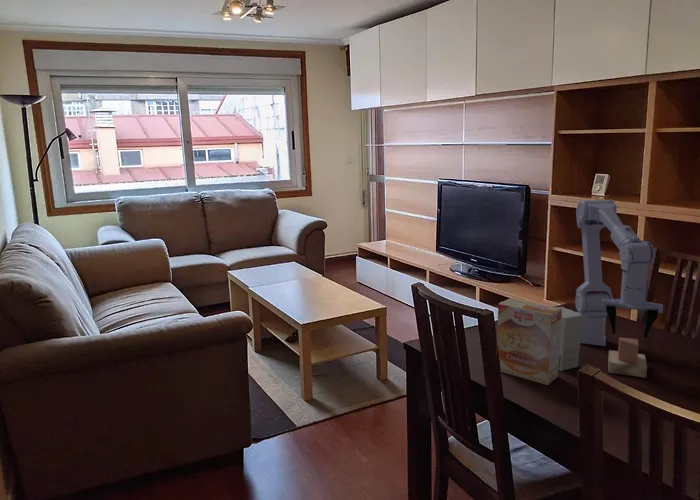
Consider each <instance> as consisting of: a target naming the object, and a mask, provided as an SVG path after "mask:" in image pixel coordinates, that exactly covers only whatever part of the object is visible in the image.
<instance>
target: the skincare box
mask: <svg viewBox="0 0 700 500" xmlns="http://www.w3.org/2000/svg"><path fill="white" fill-rule="evenodd" d="M556 307H557V308H562V317H561V334H560V351H559V368H558V371H561V372H563V371H565V370H566V371H567V370H570V369H574V368H578V367H579V360H580V359H579V356H580V347H581V343H580V339H581V329H582V320H583V315H581V314H578V313H576V312H577V311H574V310H571V309H568V308H565V307H564V306H556Z"/></svg>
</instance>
